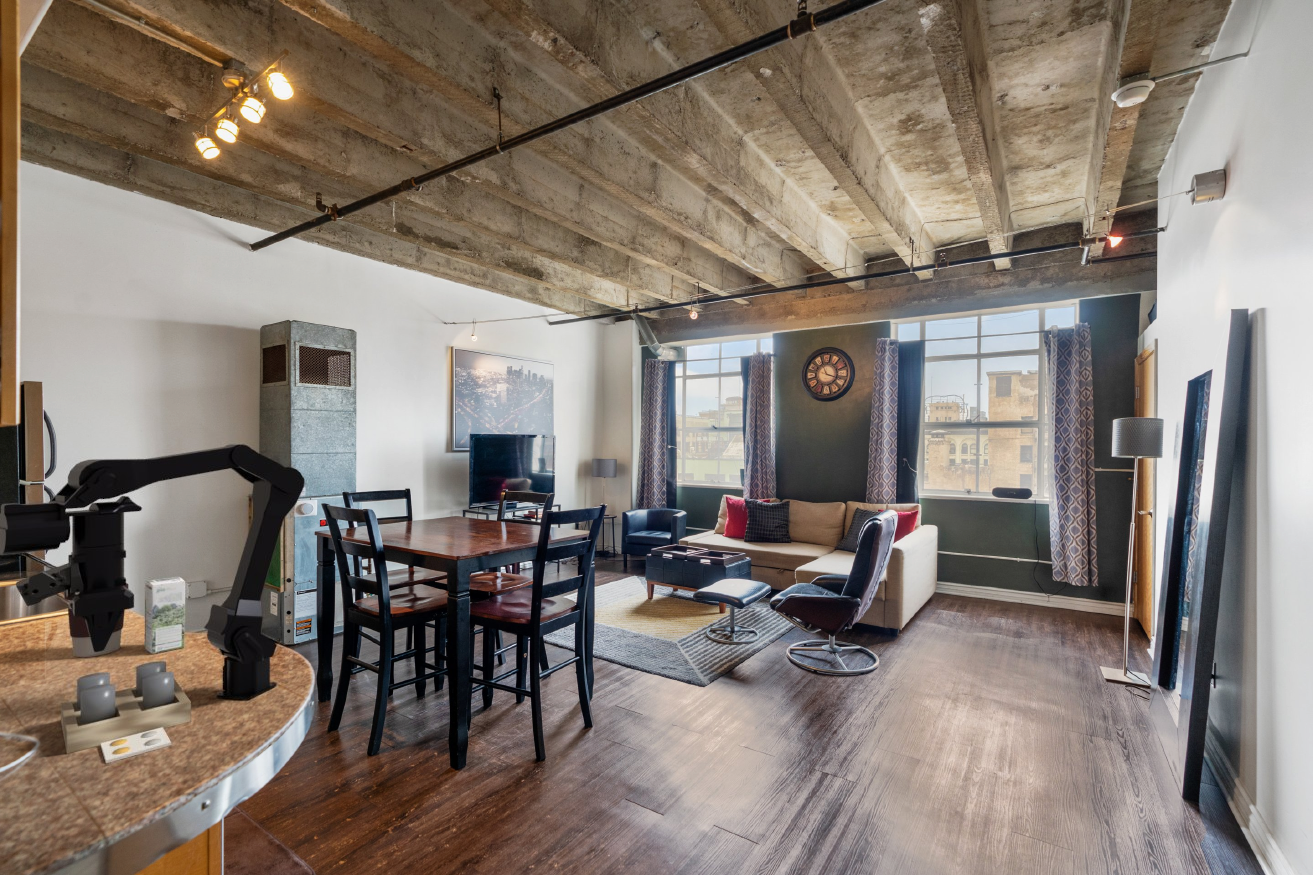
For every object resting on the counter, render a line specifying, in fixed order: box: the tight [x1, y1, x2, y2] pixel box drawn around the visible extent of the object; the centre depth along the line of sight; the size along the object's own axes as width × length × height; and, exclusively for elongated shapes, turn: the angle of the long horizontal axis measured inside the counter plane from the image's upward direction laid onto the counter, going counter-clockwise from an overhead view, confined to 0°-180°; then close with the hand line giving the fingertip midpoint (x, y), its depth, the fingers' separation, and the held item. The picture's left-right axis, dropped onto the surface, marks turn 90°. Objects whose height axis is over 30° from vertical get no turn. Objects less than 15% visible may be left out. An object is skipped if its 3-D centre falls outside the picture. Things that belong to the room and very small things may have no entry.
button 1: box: [76, 672, 111, 709], centre depth 97 cm, size 4×4×4 cm
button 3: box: [135, 660, 167, 695], centre depth 102 cm, size 4×4×4 cm
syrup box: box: [144, 576, 186, 655], centre depth 132 cm, size 6×6×14 cm
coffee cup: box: [64, 582, 129, 658], centre depth 130 cm, size 10×10×15 cm
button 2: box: [81, 683, 116, 723], centre depth 92 cm, size 4×4×4 cm
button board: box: [60, 678, 192, 754], centre depth 97 cm, size 14×14×3 cm
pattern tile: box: [100, 727, 172, 764], centre depth 89 cm, size 7×7×1 cm
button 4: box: [143, 671, 175, 708], centre depth 97 cm, size 4×4×4 cm
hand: (98, 650), depth 92 cm, fingers closed
